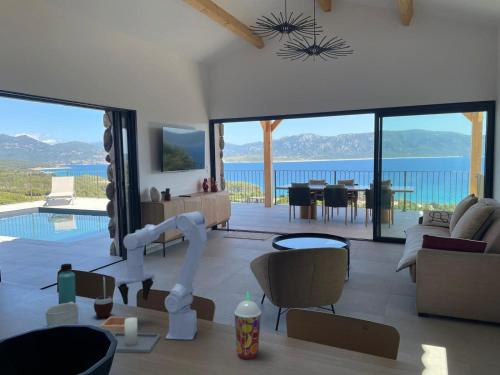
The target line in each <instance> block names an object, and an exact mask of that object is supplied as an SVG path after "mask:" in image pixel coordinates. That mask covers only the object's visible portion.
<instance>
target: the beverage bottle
mask: <svg viewBox="0 0 500 375" xmlns="http://www.w3.org/2000/svg"><path fill="white" fill-rule="evenodd" d="M72 269H73V266H72V263H62V264H61V265H60V271H62V272H60V273H59V274H58V275H57V278H58V282H57V283H58V286H57V288H58V289H57V290H58V294H57V295H58V296H57V297H58V304H63V303H69V302H74V303H76V304H77V300H76V299H77V297H76V295H77V292H76V277H75V276H76V273H75V272H73V271H71V270H72Z"/></svg>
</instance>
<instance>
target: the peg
mask: <svg viewBox="0 0 500 375" xmlns="http://www.w3.org/2000/svg"><path fill="white" fill-rule="evenodd" d="M129 317H130V318H126V319H125V345H126V346H133V345H136V344H137V343H138V341H137V333H138V317H136V316H134V317H133V316H132V317H131V316H129Z"/></svg>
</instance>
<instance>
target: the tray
mask: <svg viewBox="0 0 500 375" xmlns="http://www.w3.org/2000/svg"><path fill="white" fill-rule="evenodd" d="M114 335H115V337H116V338H117V340H118V346H117V350H116V352H115V353H126V354H128V353H129V354H150V353H151V351H152V350H153V349H154V347H155V346H156V345H157V343H158V341H159V340H160V338H161V333H151V332H150V333H149V332H147V333H146V332H145V333H144V332H143V333H141V332H137V341H138V343H137V344H136V345H133V346H126V345H125V333H116V332H115V333H114Z"/></svg>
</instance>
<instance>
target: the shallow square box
mask: <svg viewBox="0 0 500 375" xmlns="http://www.w3.org/2000/svg"><path fill="white" fill-rule="evenodd" d="M130 317H131V316H129V317H128V316H109V318H108V319H107V318H106V320H105V321H104V322H102V323H101V324H100V325H99V329H100V328H104V329H107V330H109V331H111V332H112V333H113V334H114V333H115V332H116V333H125V319H126V318H130ZM113 334H112V335H113Z"/></svg>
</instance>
